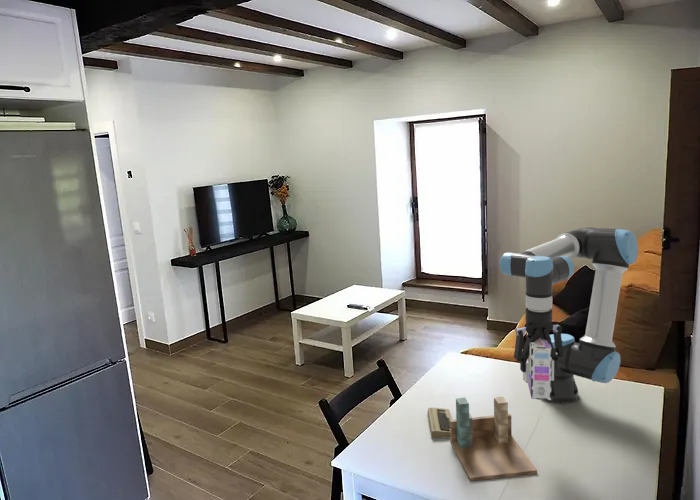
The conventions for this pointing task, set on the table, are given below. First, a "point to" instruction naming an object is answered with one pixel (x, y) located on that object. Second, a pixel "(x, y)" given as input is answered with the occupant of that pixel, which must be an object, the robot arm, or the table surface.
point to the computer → (439, 422)
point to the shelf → (487, 443)
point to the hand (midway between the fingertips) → (538, 379)
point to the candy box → (540, 369)
